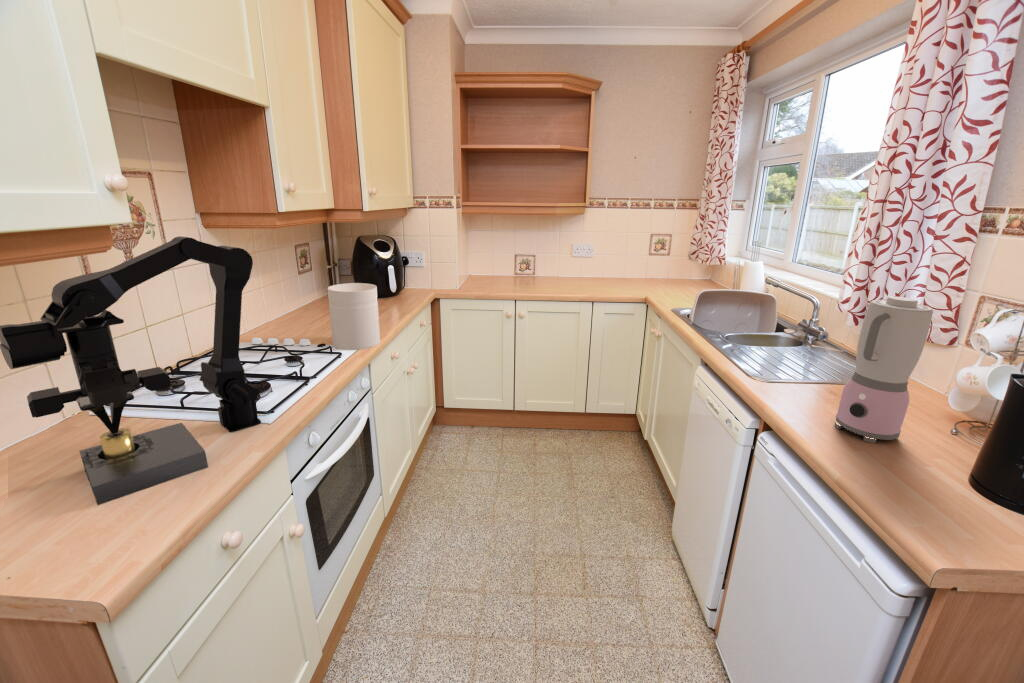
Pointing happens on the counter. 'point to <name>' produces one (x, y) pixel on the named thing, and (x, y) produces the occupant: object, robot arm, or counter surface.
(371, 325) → the canister
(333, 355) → the counter surface
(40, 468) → the counter surface
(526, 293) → the counter surface
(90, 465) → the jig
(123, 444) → the bushing
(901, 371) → the blender
